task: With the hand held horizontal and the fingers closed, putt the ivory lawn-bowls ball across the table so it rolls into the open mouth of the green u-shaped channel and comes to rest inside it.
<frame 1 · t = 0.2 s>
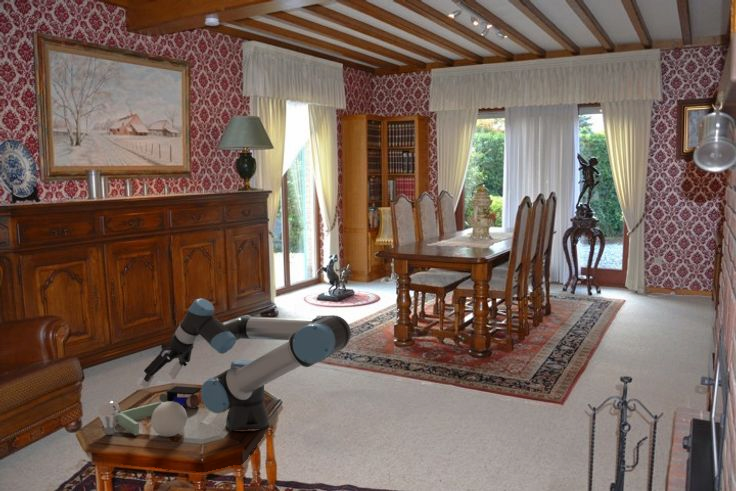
hand: (158, 381, 220), 15 cm above the table, tool tilted 35°, fingers open, 13 cm apart
light bulb: (109, 435, 211), on the table
green u-shaped channel: (150, 423, 221), on the table
figurine character: (181, 406, 238), on the table
ball: (169, 418, 211), point 6 cm above the table
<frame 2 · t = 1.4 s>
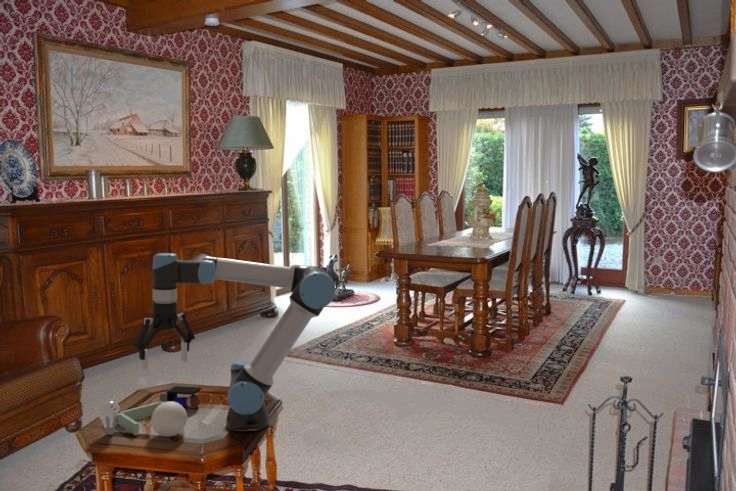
hand: (164, 365, 202), 27 cm above the table, tool pointing down, fingers open, 13 cm apart
nothing on the table moved.
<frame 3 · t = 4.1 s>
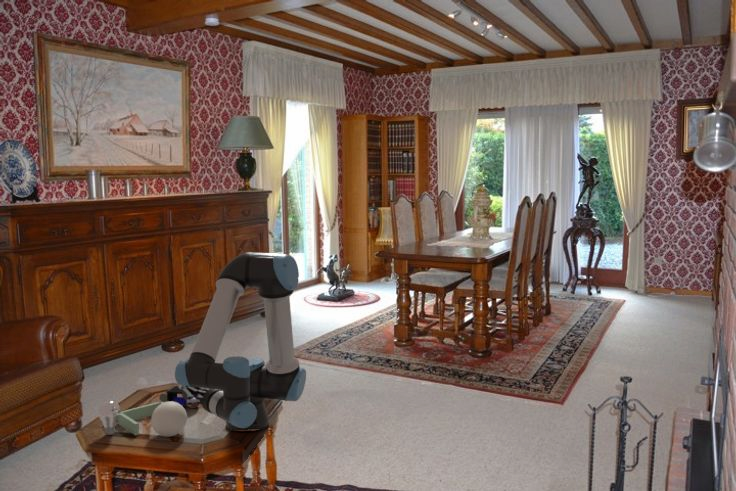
hand: (180, 383, 204), 20 cm above the table, tool horizontal, fingers closed
nothing on the table moved.
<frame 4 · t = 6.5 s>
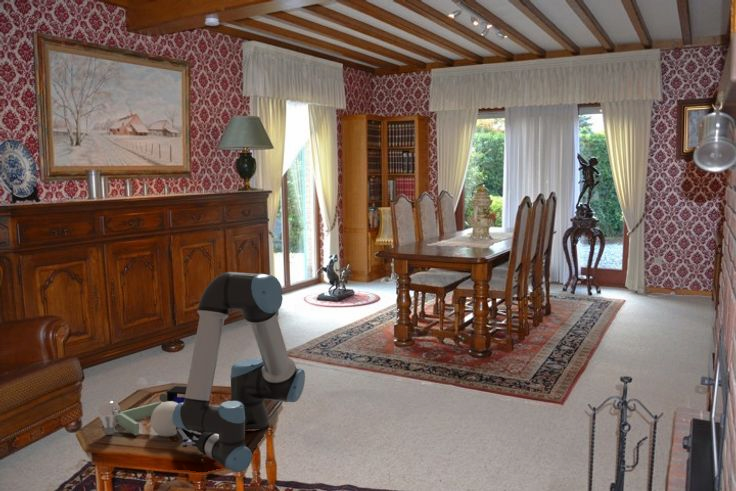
hand: (175, 422, 206), 6 cm above the table, tool horizontal, fingers closed
ball: (168, 418, 211), point 6 cm above the table, touching gripper
everything else where it was.
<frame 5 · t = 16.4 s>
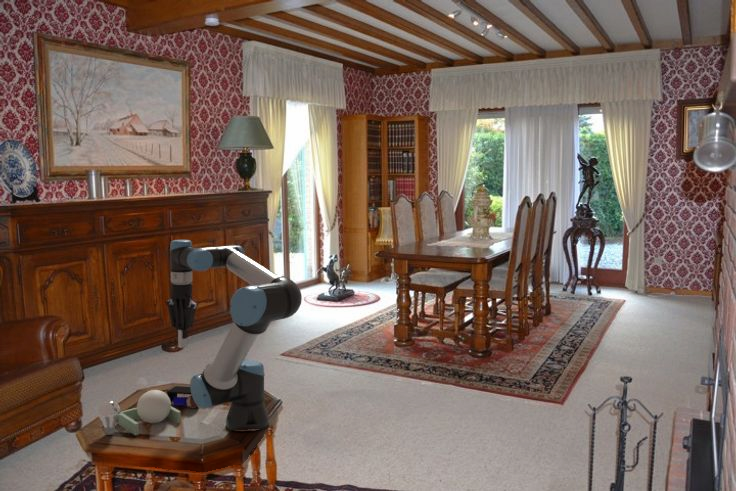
hand: (182, 346, 225), 26 cm above the table, tool pointing down, fingers closed
ball: (154, 406, 222), point 6 cm above the table, tilted 94°
everything else where it was.
at the end: ball 1.7 cm from the green u-shaped channel (horizontally); ball point 5.8 cm above the table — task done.
